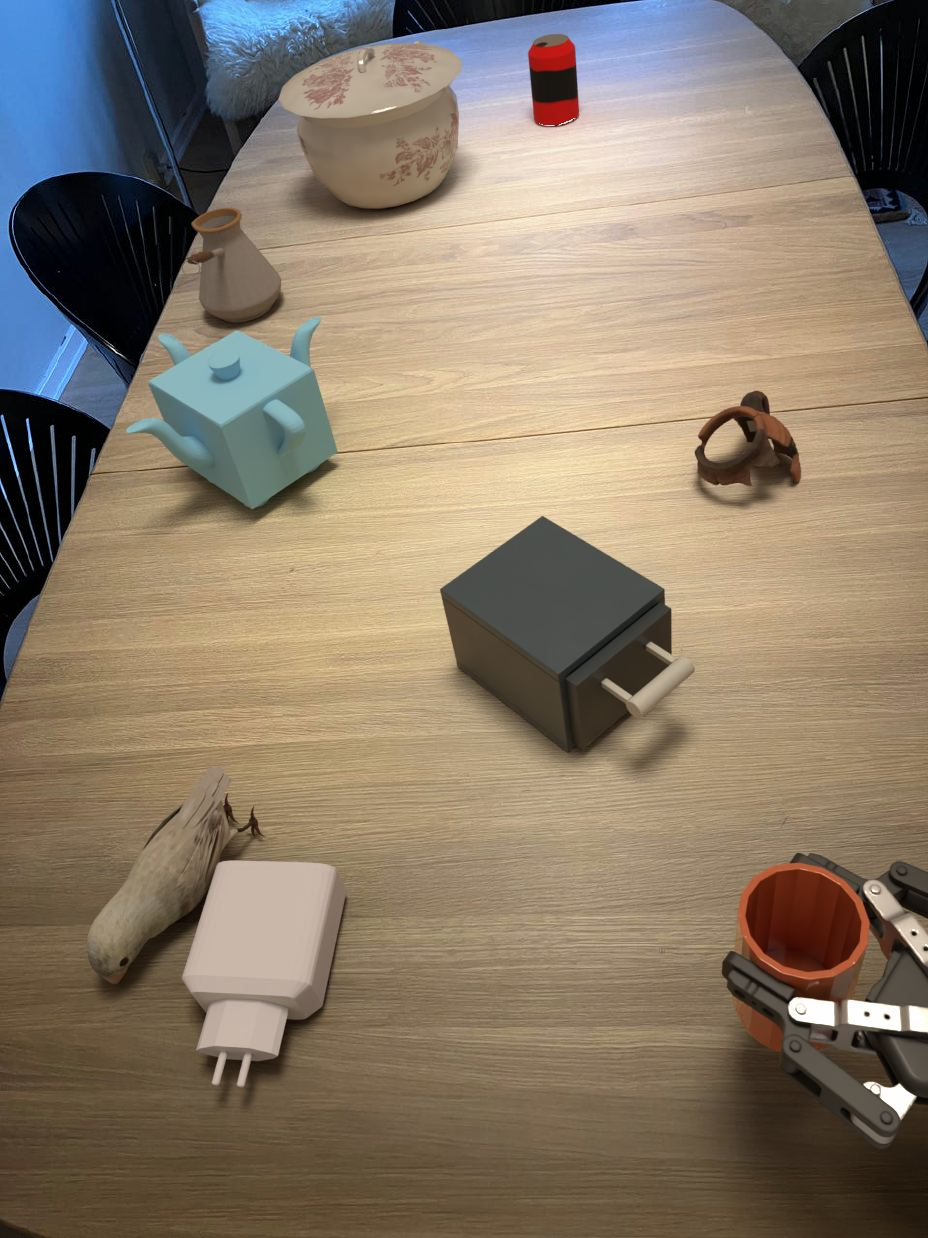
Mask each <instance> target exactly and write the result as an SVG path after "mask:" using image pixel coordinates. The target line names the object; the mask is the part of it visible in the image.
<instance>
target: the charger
mask: <svg viewBox="0 0 928 1238" xmlns="http://www.w3.org/2000/svg"><path fill="white" fill-rule="evenodd" d="M347 890H348V889H347V888H346V885H345V883H344V881H343V879H342V877H341V875H340V872H339V870H338V868H336V866H333V865H330V864H327V863H323V862H322V863H321V862H310V861H309V862H306V861H304V862H303V861H268V860H267V861H265V860H222V861H219V863H218V864H217V866H216V869H215V873H214V876H213V879H212V881H211V883H210V885H209V888H208V892H207V895H206V899H205V903H204V905H203V909H202V912H201V914H200V918H199V921H198V924H197V928H196V930H195V934H194V938H193V940H192V944H191V947H190V951H189V953H188V957H187V960H186V963H185V967H184V970H183V973H182V976H181V980H182V982H183V984H184V985H185V987H186V988H187V990H188V991H189V993H190V994H191V996H192V997H193V998H194V999H195V1000H196V1003H198V1004H199V1006H200V1008H202V1010H203V1011H204V1013H206V1015H205V1017H204V1022H203V1024H202V1028H201V1032H200V1036H199V1039H198V1042H197V1045H196V1050H195V1051H196V1052H199V1053H201V1054H203V1055H207V1056H212V1057H215V1058H217V1062H216V1065H215V1069H214V1072H213V1077H212V1080H211V1085H212V1086H214V1087H218V1086H219V1085H220V1084H221V1080H222V1078H223V1073H224V1068H225V1065H226V1060H235V1061H236V1060H237V1061H242V1062H241V1066H240V1071H239V1075H238V1078H237V1082H236V1087H238V1088H240V1089H243V1088H244V1087H245V1085H246V1083H247V1079H248V1078H247V1077H248V1074H249V1070H250V1065H251V1062H261V1061H268V1060H273V1059H275V1058H277V1057H278V1056H279V1054H280V1049H281V1044H282V1040H283V1035H284V1031H285V1026H286V1023H287V1020H298V1021H299V1020H306V1019H307V1018H309V1017H310V1016H312V1015H313V1014H314V1013H315V1012H317V1011H318V1010H319V1009H321V1008H322V1007H323V1005H324V1001H325V995H326V990H327V986H328V982H329V977H330V972H331V967H332V963H333V962H332V961H333V957H334V952H335V947H336V944H337V937H338V934H339V928H340V924H341V918H342V914H343V910H344V905H345V899H346V895H347Z"/></svg>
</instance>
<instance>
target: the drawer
mask: <svg viewBox="0 0 928 1238" xmlns="http://www.w3.org/2000/svg"><path fill="white" fill-rule="evenodd" d="M672 615H673V614H672V608H671V607H669V606H668V605H666V603H665V604H663V603H661V602H659V603H658V604H657V605H655V606H654V607H653V608H652V609H651V610H649V611H648V612H647V613H646V614H644V615H643V616H642V617H641V618H640V617H639V618H637V619H636V620H635V621H634V622H632V623H631V624H630V625H629V626H628V627H626V628H625V629H624V630H623V631H621V632H620V633H619V634H618V635H616V636H615V637H614V638H613V639H611V640H610V641H609V642H608V643H606V644H605V645H604V646H603V647H601V648H600V649H599V650H598V651H597V652H595V653H594V654H593V655H592V656H590V657H589V658H588V659H587V660H585V661H584V662H583V663H582V664H580V665H579V666H578V667H577V668H575V669H574V670H573V671H572V672H571V673H569V674H568V675H567V677H566V678H565V681H566V690H567V698H568V707H569V715H570V724H571V732H572V741H573V742H574V743H575V744H576V746H578V748H580V749H581V750H585V748H587V747H588V746H589V745H590V744H591V743H592V742H594V741H595V740H596V739H597V738H599V736H601V735H602V734H604V732H605V731H607V730H608V729H609V728H610V727H611V726H613V725H614V724H615V723H616V722H618V720H619V719H621V718H622V717H623V716H624V715H626V714H627V713H628V712H629V713H630V714H631V715H632V716H633V717H634V718H636V719H642V718H643V717H644V716H645V715H646V714H648V713H649V712H650V711H651V710H652V709H653V708H654V707H656V706H657V705H658V704H660V703H661V701H663V700H664V699H665V698H666V697H668V695H670V694H671V693H673V691H674V690H676V689H677V688H678V687H679V686H680V685H681V684H683V683H684V682H685V681H687V680H688V678H689V677H691V676H693V674H694V673H695V671H696V668H695V666H694V664H693V662H692V661H691V660H690V659H689V658H688V657H686V656H683V655H681V656H678V657H676V656H674V655H673V653H672V652H673V651H672V650H673V649H672V648H673V645H672V641H673V640H672V638H673V637H672V636H673V634H672V633H673V632H672V631H673V630H672V629H673V628H672V621H673V620H672V619H673V618H672V617H673V616H672Z"/></svg>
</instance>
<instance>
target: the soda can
mask: <svg viewBox="0 0 928 1238" xmlns="http://www.w3.org/2000/svg"><path fill="white" fill-rule="evenodd" d="M576 54H577V53H576V45H575V44H574V42H573V41H572V40H571V39H570V37H569V36H568V35H567V34H563V33H552V34H551V33H550V34H545V35H542V36H540V37H537V38H535V39H533V41H532V44H531V46H530V48H529V49H528V52H527V58H528V68H529V79H530V89H531V90H530V91H531V101H532V113H533V120H534V122H535V123H536V124H538V123H540V124H543V125H559V124H561V123H564V122H566V121H569V120H571V119H573V118H576V117H577V118H578V116H579V115H580V103H579V101H580V100H579V89H578V88H579V87H578V85H579V84H578V70H577V55H576ZM578 114H579V115H578ZM577 118H576V119H577Z"/></svg>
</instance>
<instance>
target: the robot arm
mask: <svg viewBox="0 0 928 1238" xmlns="http://www.w3.org/2000/svg"><path fill="white" fill-rule="evenodd" d="M791 863H802V864H807V865H812V866H817V867H821V868H824V869H826V870H827V871H829V872H831V873H833V874H834V875H836V876H838V877H839V878H841V879H843V880H844V881H846V882H847V884H848V885H849V886H850V887H851V888H852V889H853V890H854V892H855V893H856V894H857V895H858V896H859V897H860V899H861V900H862V902H863V905H864V908H865V910H866V913H867V916H868V919H869V922H870V927H869V932H871V933H872V935H873V936H874V937H875V939H876V940H877V942H878V944H879V947H880V951H881V953H882V954H883V957H885V958H886V960H887V961H886V964H885V967H884V970H883V973H882V976H881V978H880V979H879V980H878V981H877V982H876V983H874V984H873V985H872V986H871V988H870V990H869V992H868V993H867V995H866V996H865V999H864V1001H862V1000H856V999H855V1000H854V999H852V1000H847V999H846V1000H840V1001H838V1002H830V1001H823V1000H816V999H808V998H801V997H797V998H796V997H794V994H795V989H794V988H792V987H791V986H789V985H788V984H786V983H784V982H783V981H780V980H778V979H777V978H775V977H774V976H772V975H771V974H769V973H768V972H766V971H765V970H763V969H762V968H760V967H759V966H757V965H756V964H754V963H753V962H751V961H749V960H748V959H746V958H745V957H743V956H741V955H740V954H738V953H737V952H734V951H735V950H729V951H728V953H727V955H726V956H725V958H724V959H723V960H722V963H721V964H722V965H721V975H722V977H723V978H724V979H725V980H726V989H727V990H728V991H729V992H730V994H731V996H732V995H733V996H734V997H736V998H737V999H739V1000H740V1001H742V1002H744V1003H745V1004H746V1005H748V1006H749V1007H751V1008H753V1009H754V1010H756V1011H757V1012H759V1013H760V1014H762V1015H763V1016H765V1017H766V1018H768V1019H769V1020H771V1021H772V1022H774V1023H775V1024H776V1025H777V1026H778V1027H779V1028H780V1030H781V1032H782V1036H783V1039H782V1046H781V1052H779V1059H778V1068H779V1070H780V1072H781V1073H782V1074H783V1075H784V1076H786V1077H787V1078H788V1079H789V1080H790V1081H792V1082H793V1083H794V1084H795V1085H797V1086H798V1087H799V1088H800V1089H801V1090H803V1092H805V1093H807V1094H808V1095H809V1096H810V1097H812V1098H813V1100H815V1101H816V1102H818V1103H819V1104H820V1105H821V1106H823V1107H824V1109H826V1110H828V1111H829V1112H830V1113H831V1114H833V1115H834V1116H835V1117H836V1118H837V1119H838V1120H840V1121H841V1122H842V1123H844V1124H845V1125H846V1126H847V1127H849V1128H850V1129H851V1130H852V1131H853V1132H855V1133H856V1134H857V1135H858V1136H860V1138H862V1139H863V1140H865V1141H866V1142H867V1143H869V1144H870V1145H871V1146H872V1147H874V1148H875V1149H879V1150H885V1149H888V1148H890V1146H891V1145H892V1143H893V1142H894V1141H893V1140H894V1139H895V1137H896V1135H897V1132H898V1130H899V1128H900V1126H901V1122H902V1121H903V1119H904V1118H905V1117H906V1115H907V1113H908V1112H909V1111H910V1110H911V1108H912V1107H913V1105H917V1106H925V1107H928V932H927V930H926V929H925V928H924V926H923V925H922V924H921V922H920V921H919V920H918V919H917V917H916V916H915V915H914V914H916V915H918V916H920V917H923V918H925V919H927V920H928V871H926V870H924V869H921V868H919V867H917V866H914V865H913V864H910V863H908V862H906V861H900V860H897V861H895V862H893V863H892V864H890V866H889V869H888V870H887V871H885V872H884V873H883V874H881V875H879V876H878V877H875V878H873V879H868V878H865V877H864V878H863V877H862V876H860V875H858V874H856V873H854V872H852V871H850V870H849V869H847V868H845V867H843V866H841V865H839V864H837V863H835V862H834V861H832V860H830V859H829V858H827V857H825V856H823V855H821V854H817V853H814V852H809V854H808V855H806V854H804V853H801V852H796V853H795V854H794V856H793V857H792V858H791V860H790V861H789V863H788V864H791ZM906 910H907V911H906ZM913 913H914V914H913ZM809 1042H811V1043H818V1044H825V1045H828V1046H830V1047H833V1048H834V1049H835V1050H837V1051H840V1052H846V1053H852V1054H859V1055H865V1056H873V1057H877V1058H878V1060H879V1062H880V1064H881V1066H882V1068H883V1069H884V1071H885V1073H886V1075H887V1077H888V1079H889V1081H890V1083H891V1085H892V1087H887V1086H883V1085H881V1084H879V1083H878V1082H875V1081H866V1082H864V1083H862V1082H861V1081H860V1080H858V1079H857V1078H855V1077H854V1076H853V1075H852V1074H850V1073H849V1072H848V1071H846V1070H845V1069H844V1068H842V1066H840V1065H839V1064H838V1063H836V1062H835V1061H833V1060H832V1058H830V1057H829V1056H827V1055H826V1054H825V1053H823V1052H822V1051H821V1050H818V1049H817V1048H815V1047H814V1046H813V1045H812V1044H810V1043H809Z"/></svg>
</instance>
